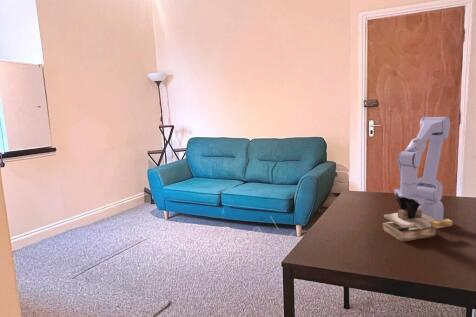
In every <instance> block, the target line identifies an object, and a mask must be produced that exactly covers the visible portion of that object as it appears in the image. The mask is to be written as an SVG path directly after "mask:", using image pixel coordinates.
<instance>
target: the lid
mask: <svg viewBox="0 0 476 317" xmlns="http://www.w3.org/2000/svg"><path fill="white" fill-rule="evenodd" d="M383 218H384V219H387V220H389V222H394V223H396V224H397V225H399V226H401V227H403V228H405V227H412V226H417V227H419V228H421V229H423V228H430V227H432V225H431V224H432V221H437V220H436V219H433V218H431V217H429V216H427V215H424V214H422V210H421V209H419V208H418V209H417V211H416V214H415V218H411V219H410V218H409V217H408V209H402V210H401V209H398V210H397V212H393V213H388V214H387V213H385V214H383Z"/></svg>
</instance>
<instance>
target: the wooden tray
mask: <svg viewBox="0 0 476 317" xmlns="http://www.w3.org/2000/svg"><path fill="white" fill-rule="evenodd" d="M382 231H384V232H385V233H387V234H388V235H390V236H392V237H394V238H395V239H397V240H398V241H401V242H408V241H414V240H420V239H427V238H433V237H436V228H434V227H432V226H431V227H430V228H423V229H421V228H419V227H417V226H412V227H405V228H403V227H401V226H399V225H397V224H396V223H394V222H392V221H387V222H383V223H382Z"/></svg>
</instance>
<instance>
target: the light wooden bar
mask: <svg viewBox="0 0 476 317" xmlns="http://www.w3.org/2000/svg"><path fill="white" fill-rule="evenodd" d="M431 227H433V228H435V229H441V228H442V229H443V228H447V227H448V228H449V227H453V220H452V219H450V218H445V219H443V220H438V221H432V225H431Z"/></svg>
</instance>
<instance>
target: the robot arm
mask: <svg viewBox="0 0 476 317" xmlns="http://www.w3.org/2000/svg"><path fill="white" fill-rule="evenodd" d="M419 129H420V130H419V132H418V133H417V136H416V137H415V138H412V139H411V141H410V142H409V143H408V146H406V149H405V150H402V151H400V152H399V153H398V157H397V165H398V170H399V171H400V181H399V183H400V185H399V186H400V187H399V188H395V189H394V190H393V192H394V193H393V194H394V195H397V197H396V198H395V199H396V201H397V203H398V206H399V207H400V210H402V209H408V217H409V218H410V219H411V218H415V214H416V211H417V209H418V208H419V209H421V210H422V214H424V215H427V216H429V217H431V218H433V219H436V220H437V221H438V220H444V204H443V202H442V201H441V200H442V198H443V184H442V183H441V182H440V181H439V180H438V179H437V176H438V170H439V165H440V160H441V155H442V149H443V144H444V140H446V139H448V138H449V136H450V130H451V120H450V118H449V117H448V116H422V117H421V119H420V122H419ZM427 141H429V143H428V147H427ZM425 149H427V152H426V153H427V154H426V158H425V163H424V169H423V174H422V177H420V178H418V167H419V166H420V164H421V161H422V157H423V156H422V155H423V153H424V151H426V150H425ZM431 226H432V224H431Z"/></svg>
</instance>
